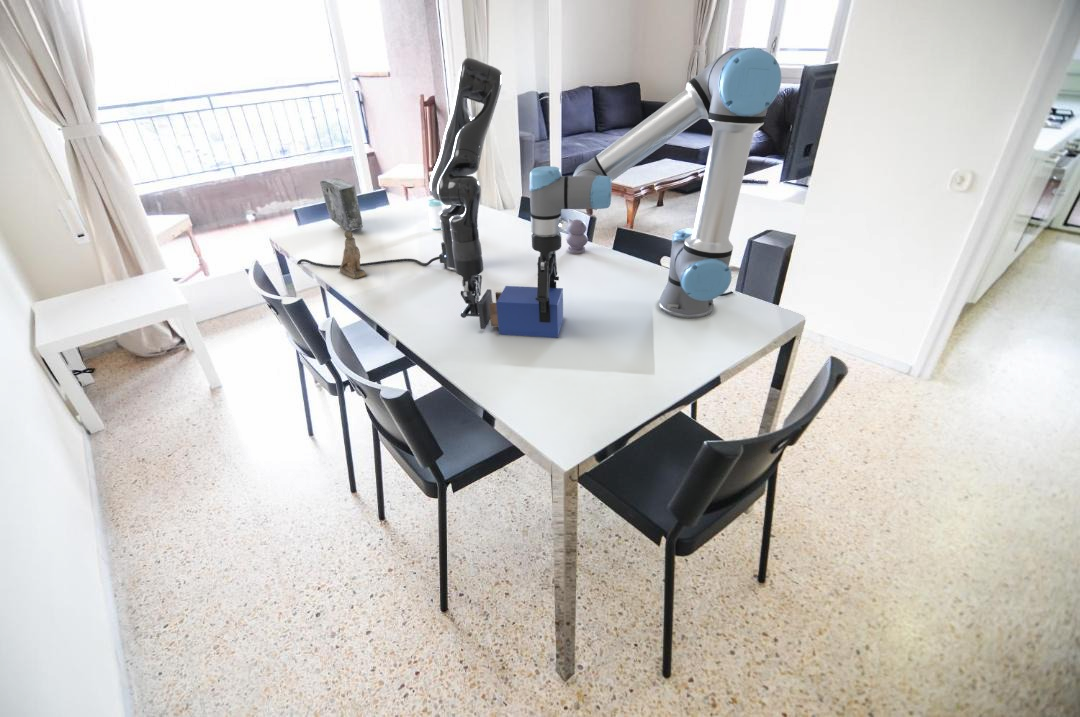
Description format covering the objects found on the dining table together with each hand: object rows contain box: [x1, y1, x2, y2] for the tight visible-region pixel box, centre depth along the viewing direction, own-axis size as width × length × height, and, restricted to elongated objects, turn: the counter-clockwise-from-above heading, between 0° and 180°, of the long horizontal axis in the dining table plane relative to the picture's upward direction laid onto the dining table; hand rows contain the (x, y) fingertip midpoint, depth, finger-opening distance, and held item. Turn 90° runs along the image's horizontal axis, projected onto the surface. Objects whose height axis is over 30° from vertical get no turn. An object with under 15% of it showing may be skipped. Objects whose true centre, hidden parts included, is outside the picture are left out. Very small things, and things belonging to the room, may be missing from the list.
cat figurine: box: [565, 218, 589, 255], centre depth 187 cm, size 9×8×12 cm
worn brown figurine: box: [339, 230, 367, 280], centre depth 174 cm, size 12×6×18 cm, turn 43°
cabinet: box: [495, 285, 564, 339], centre depth 136 cm, size 16×11×10 cm, turn 80°
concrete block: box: [319, 177, 364, 232], centre depth 222 cm, size 27×9×20 cm, turn 36°
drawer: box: [460, 288, 503, 330], centre depth 138 cm, size 20×10×8 cm, turn 80°
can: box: [426, 198, 445, 230], centre depth 220 cm, size 7×7×12 cm
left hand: (475, 313), depth 140 cm, fingers closed
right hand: (548, 312), depth 136 cm, fingers closed on cabinet, 11 cm apart
